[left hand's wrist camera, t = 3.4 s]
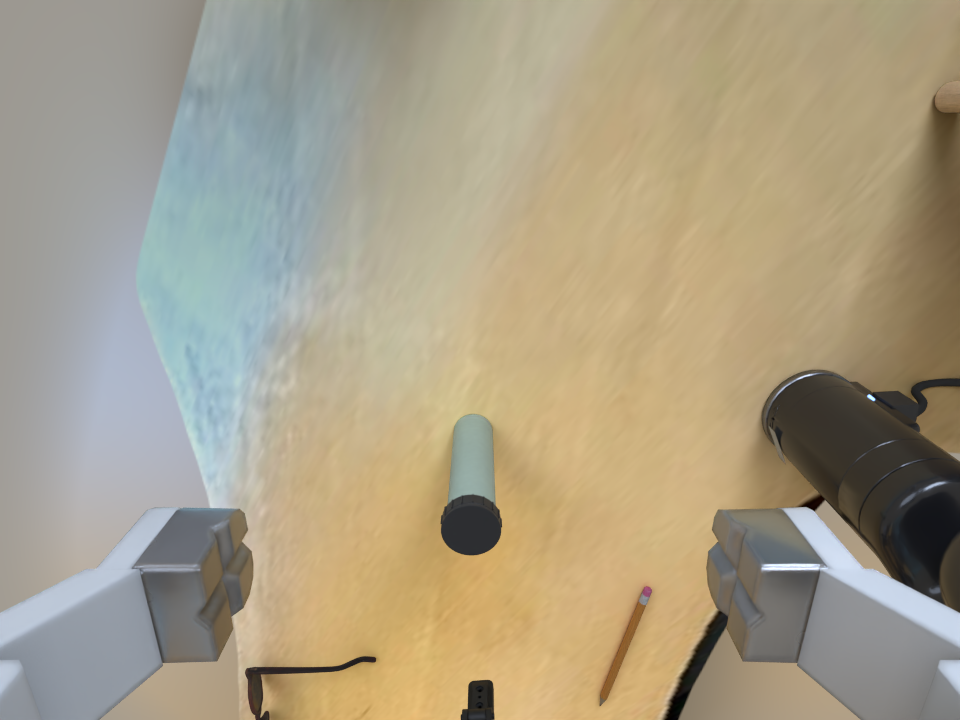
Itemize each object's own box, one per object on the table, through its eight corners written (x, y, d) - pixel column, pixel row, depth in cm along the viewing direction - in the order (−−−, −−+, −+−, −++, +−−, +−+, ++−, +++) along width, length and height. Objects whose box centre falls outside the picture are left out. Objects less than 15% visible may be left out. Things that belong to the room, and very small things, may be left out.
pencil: (642, 586, 71) (594, 703, 77) (648, 592, 70) (599, 710, 76) (648, 584, 71) (600, 701, 78) (654, 591, 70) (605, 708, 77)
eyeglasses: (253, 651, 74) (238, 686, 70) (376, 650, 74) (369, 686, 70) (268, 736, 80) (255, 775, 75) (383, 736, 80) (377, 775, 75)
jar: (458, 451, 65) (452, 552, 50) (450, 418, 63) (440, 511, 48) (496, 444, 64) (500, 543, 49) (488, 410, 63) (490, 502, 48)
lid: (448, 548, 51) (447, 560, 49) (434, 499, 49) (433, 511, 48) (506, 537, 50) (507, 550, 49) (494, 488, 49) (494, 499, 47)
